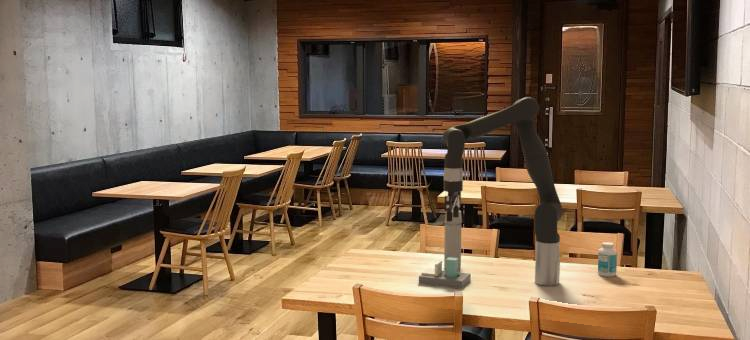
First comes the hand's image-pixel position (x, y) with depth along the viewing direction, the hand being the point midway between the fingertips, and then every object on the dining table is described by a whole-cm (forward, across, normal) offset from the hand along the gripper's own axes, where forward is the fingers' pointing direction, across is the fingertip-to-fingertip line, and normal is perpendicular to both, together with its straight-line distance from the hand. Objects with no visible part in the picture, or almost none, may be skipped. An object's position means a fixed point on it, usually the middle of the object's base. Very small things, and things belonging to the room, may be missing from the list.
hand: (452, 219), depth 296 cm
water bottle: (+26, -23, -7) cm, 36 cm away
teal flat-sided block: (+26, 0, 0) cm, 26 cm away
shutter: (+23, 0, -8) cm, 25 cm away
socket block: (+26, 0, -3) cm, 26 cm away
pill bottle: (+26, -37, +56) cm, 72 cm away
